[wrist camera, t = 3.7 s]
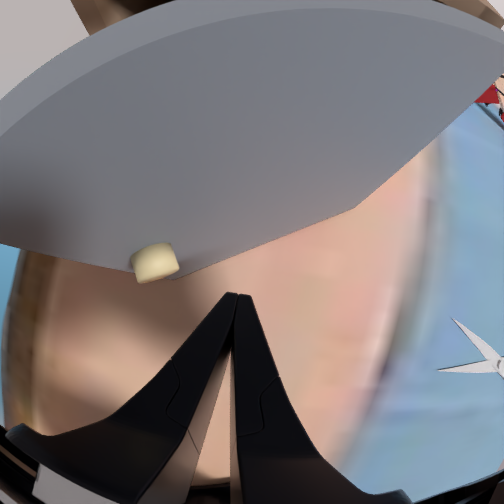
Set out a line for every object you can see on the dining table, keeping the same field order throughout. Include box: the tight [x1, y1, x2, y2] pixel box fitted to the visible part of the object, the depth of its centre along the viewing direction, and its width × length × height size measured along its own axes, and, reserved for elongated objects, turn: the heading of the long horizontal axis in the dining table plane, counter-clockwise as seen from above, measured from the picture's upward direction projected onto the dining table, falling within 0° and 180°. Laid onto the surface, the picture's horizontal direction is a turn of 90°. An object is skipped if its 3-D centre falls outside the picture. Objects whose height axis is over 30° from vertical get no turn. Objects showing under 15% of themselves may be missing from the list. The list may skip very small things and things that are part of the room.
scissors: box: [438, 318, 504, 379], centre depth 15 cm, size 11×1×20 cm
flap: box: [0, 0, 504, 283], centre depth 9 cm, size 2×12×14 cm, turn 112°
